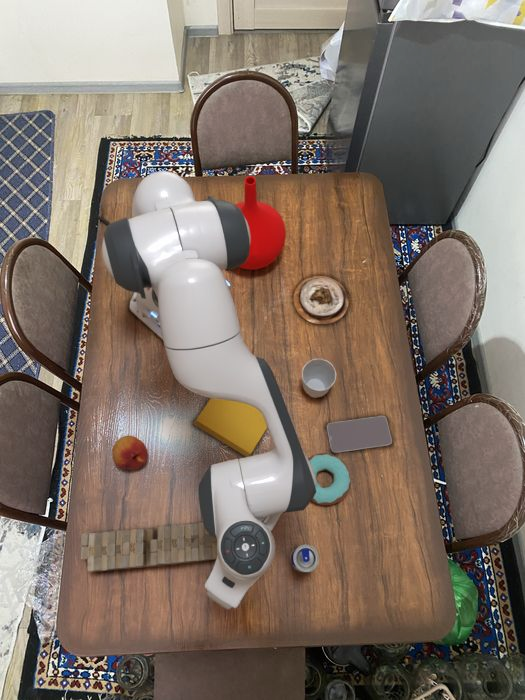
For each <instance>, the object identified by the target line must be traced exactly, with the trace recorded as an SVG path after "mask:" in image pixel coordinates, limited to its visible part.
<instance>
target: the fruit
mask: <svg viewBox="0 0 525 700" xmlns="http://www.w3.org/2000/svg"><path fill="white" fill-rule="evenodd" d="M111 450H112V451H111V452H112V455H111V456H112V460H113V463H114V464H115V466H117V467H119V468H122V469H126V470H136V469H139V468H140V467H142V466H144V465H145V464H146V462H147V460H148V456H149V455H148V453H149V452H148V449H147V446H146V445H145V443H144V442H143V441H142V440H140V439H139V438H138V437H136V436H133V435H125V436H122V437H120V438H119V439H117V440H116V441H115V443H114V444H113V447H112V449H111Z"/></svg>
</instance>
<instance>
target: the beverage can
mask: <svg viewBox="0 0 525 700" xmlns="http://www.w3.org/2000/svg"><path fill="white" fill-rule="evenodd" d="M319 561H320V557H319V553H318V551H317V549H316V548H315V547H314V546H313V545H310V544H301V545H299V546H297V547H296V548H294V549H293V550H292V551H291V553H290V555H289V563H290V566H291V567H292V569H293V570H295V571H296V572H299V573H310V572H312V571H314V570H315V569H316V568H317V567H318V565H319Z"/></svg>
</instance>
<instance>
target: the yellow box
mask: <svg viewBox="0 0 525 700" xmlns="http://www.w3.org/2000/svg"><path fill="white" fill-rule="evenodd" d="M192 424H193V426H195V427H197V428H198V429H200V430H201V431H203V432H204V433H207V434H208V435H209V436H211V437H213V438H214V439H216V440H218V441H219V442H221V443H222V444H224V445H226V446H227V447H229V448H231V449H232V450H234V451H236V452H237V453H239V454H241V456H243V457H244V458H245V457H250V456H252V453H253V452H254V450H255V449H256V447H257V445H258V444H259V442H260V440H261V439H262V438H263V435H264V434H265V432H266V431H267V429H268V427H267V425H266V422H265V420H264V417H263V415H262V413H261V412H260V411H259V410H258V409H257V408H255V407H253V406H251V405H248V404H245V403H241V402H237V401H231V400H223V399H214V398H209V399H208V401H207V403H206V404H205V406H204V407H203V409H202V410H201V412H200V413H199V415H198V416H197V417H196V419H195V420H194V422H193V423H192Z"/></svg>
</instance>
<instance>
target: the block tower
mask: <svg viewBox="0 0 525 700" xmlns="http://www.w3.org/2000/svg"><path fill="white" fill-rule="evenodd" d="M80 538H81V539H80V546H81V547H80V559H81V560H86V561H87V566H86V571H87V572H105V571H107V572H108V571H112V570H130V569H139V568H140V569H141V568H148V567H149V568H150V567H162V566H166V565H167V566H168V565H180V564H182V565H183V564H190V563H197V562H204V561H210V560H211V561H212V560H216V559H217V556H218V554H217V539H215V538H214V537H212V536H211V535H210V534H209V533H208V532H207V531H206V529H205V527H204V523H203V521H202V522H198V523H196V522H195V523H185V524H175V525H173V524H172V525H168V526H167V525H166V526H165V525H158V526H157V529H155V528H146V529H144V528H131V529H120V530H111V531H102V532H100V531H99V532H90V533H88V532H83V533H81V537H80Z"/></svg>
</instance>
